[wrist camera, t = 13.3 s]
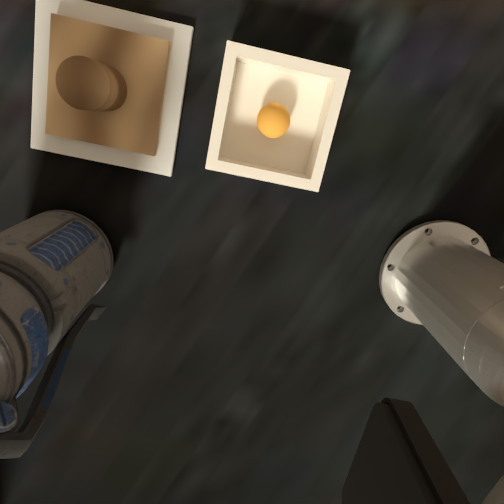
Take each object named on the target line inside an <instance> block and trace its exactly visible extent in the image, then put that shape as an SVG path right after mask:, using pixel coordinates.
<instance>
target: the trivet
mask: <svg viewBox="0 0 504 504" xmlns="http://www.w3.org/2000/svg"><path fill="white" fill-rule="evenodd" d="M51 13H54V14H58V15H62V16H67V17H71V18H75V19H79V20H84V21H88V22H92V23H96V24H100V25H105V26H109V27H113V28H117V29H122V30H126V31H130V32H134V33H138V34H143V35H147V36H151V37H155V38H159V39H164V40H168V41H170V42H171V49H170V56H169V64H168V71H167V79H166V86H165V94H164V101H163V109H162V117H161V124H160V132H159V139H158V147H157V154H156V156H150V155H145V154H141V153H136V152H131V151H126V150H121V149H117V148H112V147H107V146H102V145H97V144H93V143H88V142H83V141H78V140H73V139H69V138H64V137H59V136H54V135H49V134H45V127H46V105H47V84H48V63H49V41H50V20H51ZM193 30H194V28H193V27H192V26H188V25H184V24H180V23H176V22H171V21H167V20H163V19H159V18H155V17H151V16H147V15H142V14H138V13H134V12H130V11H126V10H122V9H118V8H113V7H109V6H105V5H101V4H97V3H93V2H89V1H84V0H36V11H35V39H34V67H33V95H32V123H31V148H33V149H38V150H43V151H48V152H53V153H58V154H63V155H68V156H72V157H77V158H82V159H87V160H92V161H97V162H102V163H107V164H112V165H117V166H122V167H126V168H131V169H136V170H141V171H146V172H151V173H156V174H161V175H166V176H172V173H173V166H174V160H175V153H176V146H177V139H178V132H179V126H180V119H181V112H182V105H183V98H184V91H185V85H186V78H187V71H188V64H189V57H190V51H191V44H192V37H193Z"/></svg>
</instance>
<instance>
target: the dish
mask: <svg viewBox="0 0 504 504" xmlns="http://www.w3.org/2000/svg"><path fill="white" fill-rule="evenodd" d="M349 74H350V70H349V69H345V68H341V67H336V66H332V65H328V64H324V63H320V62H316V61H311V60H307V59H303V58H299V57H295V56H291V55H286V54H282V53H278V52H274V51H270V50H266V49H261V48H257V47H253V46H249V45H245V44H241V43H237V42H232V41H228V40H227V44H226V50H225V56H224V62H223V68H222V73H221V79H220V85H219V91H218V97H217V103H216V108H215V114H214V120H213V126H212V132H211V138H210V143H209V149H208V155H207V161H206V167H205V169H209V170H214V171H219V172H224V173H228V174H233V175H238V176H243V177H248V178H253V179H257V180H262V181H267V182H272V183H277V184H282V185H286V186H291V187H296V188H301V189H306V190H310V191H315V192H318V191H319V188H320V184H321V180H322V176H323V172H324V169H325V165H326V161H327V157H328V153H329V150H330V146H331V142H332V138H333V134H334V131H335V127H336V123H337V119H338V115H339V112H340V108H341V104H342V100H343V97H344V93H345V89H346V85H347V81H348V78H349ZM269 103H278V104H281V105H283V106H284V107H285V108H286V109H287V110H288V112H289V115H290V126H289V128H288V130H287V131H286V133H285V134H283V135H282V136H280V137H277V138H269V137H267V136H265V135H263V134H262V133H261V132H260V130H259V128H258V126H257V116H258V113H259V111H260V110H261V108H262V107H264V106H265V105H267V104H269Z"/></svg>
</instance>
